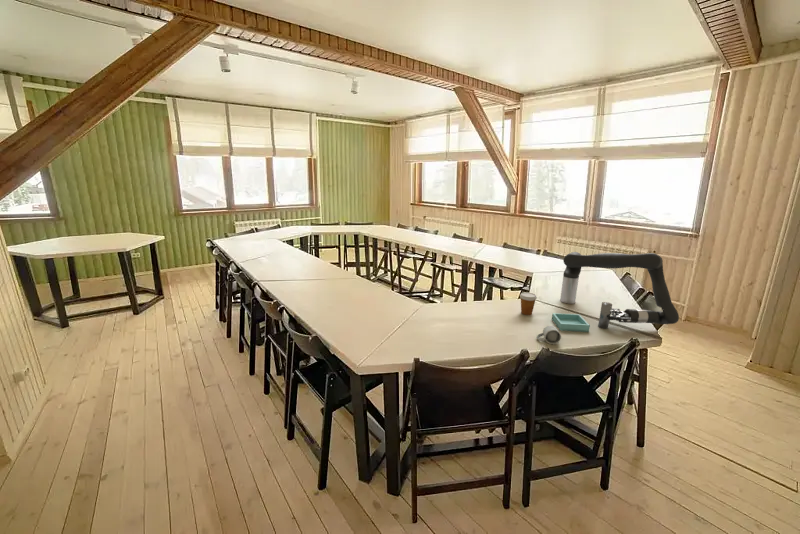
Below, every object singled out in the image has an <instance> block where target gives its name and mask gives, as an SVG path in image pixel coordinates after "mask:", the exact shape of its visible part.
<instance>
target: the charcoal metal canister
mask: <svg viewBox="0 0 800 534" xmlns="http://www.w3.org/2000/svg"><path fill="white" fill-rule="evenodd" d="M600 306H601V307H600V311H599V316H598V317H599V319H598V325H597V327H598V328H600V329H603V330H608V329H609V327H610V321H611V320H608V316H612V315H611V312H612V311H611V309H612V308H613V304H612V303H611V302H608V301H603V302H601V305H600Z"/></svg>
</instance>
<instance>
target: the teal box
mask: <svg viewBox="0 0 800 534" xmlns="http://www.w3.org/2000/svg"><path fill="white" fill-rule="evenodd" d="M551 320H552V322H553V324H554V325H555V324H556V325H555V327H556V328H559V329H558V331H560V330H561V332H580V333H581V332H583V333H584V332H585V333H589V332H590V327H591V326H590V323H588V321H587V320H586V319H584V317H583V316H582V315H581V314H577V313H562V312H561V313H560V312H559V313H557V312H552V314H551Z"/></svg>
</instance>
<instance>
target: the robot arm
mask: <svg viewBox="0 0 800 534" xmlns="http://www.w3.org/2000/svg"><path fill="white" fill-rule="evenodd" d="M663 263H664V261H663V258H662V256H661V255H659V254H658V253H653V252H649V253H648V252H647V253H637V254H636V253H635V254H633V253H631V254H630V253H629V254H628V253H617V252H602V253H594V254H581V253H580V252H577V251H573V252H570V253H568V254H566V255H565V256H564V257H563V264H564V265H565V269H564V271H563V275H562V276H563V277H562V283H561V291H560V297H559V298H560V299H559V301H560V302H562V303H565V304H571V305H572V304H575V303H576V299H577V291H578V288H579V287H578V286H579V278H580V274H581V271H582V268H596V269H597V268H598V269H599V268H600V269H623V268H637V269H638V268H639V269H645V270H647V272H648V274H649V276H650V280H651V286H652V287H651V288H652V293H653V297H654V302H655V304H656V306H657V307H658V308H661V310H662V311H656V310H652V309H651V310H650V309H648V310H647V309H639V308H637V309H636V308H626V309H625V310H624V311H623V310H621V309H620V308H613V307H612V309H611V315H610V316H608V320H610V321H616V322H618V323H625V324H627V323H629V324H630V323H631V324H658V325H659V324H660V325H672V324H673V325H674V324H676V323H678V322H679V319H680V315H679V312H678V311H677V308H676V307H675V305H674V304H673V302H672V298H671V295H670V292H669V289H668V285H667V282H666V280H665V274H664V273H665V272H664V265H663Z"/></svg>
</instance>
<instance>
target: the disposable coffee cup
mask: <svg viewBox="0 0 800 534" xmlns="http://www.w3.org/2000/svg"><path fill="white" fill-rule="evenodd" d="M519 297H520V313H521V314H522V315H524V316H531V315H532V314H533V311H534V307H535V305H536V304H535V303H536V300H537V294H535V293H533V292H528V291H527V292H525V291H524V292H521V293H520V295H519Z"/></svg>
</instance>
